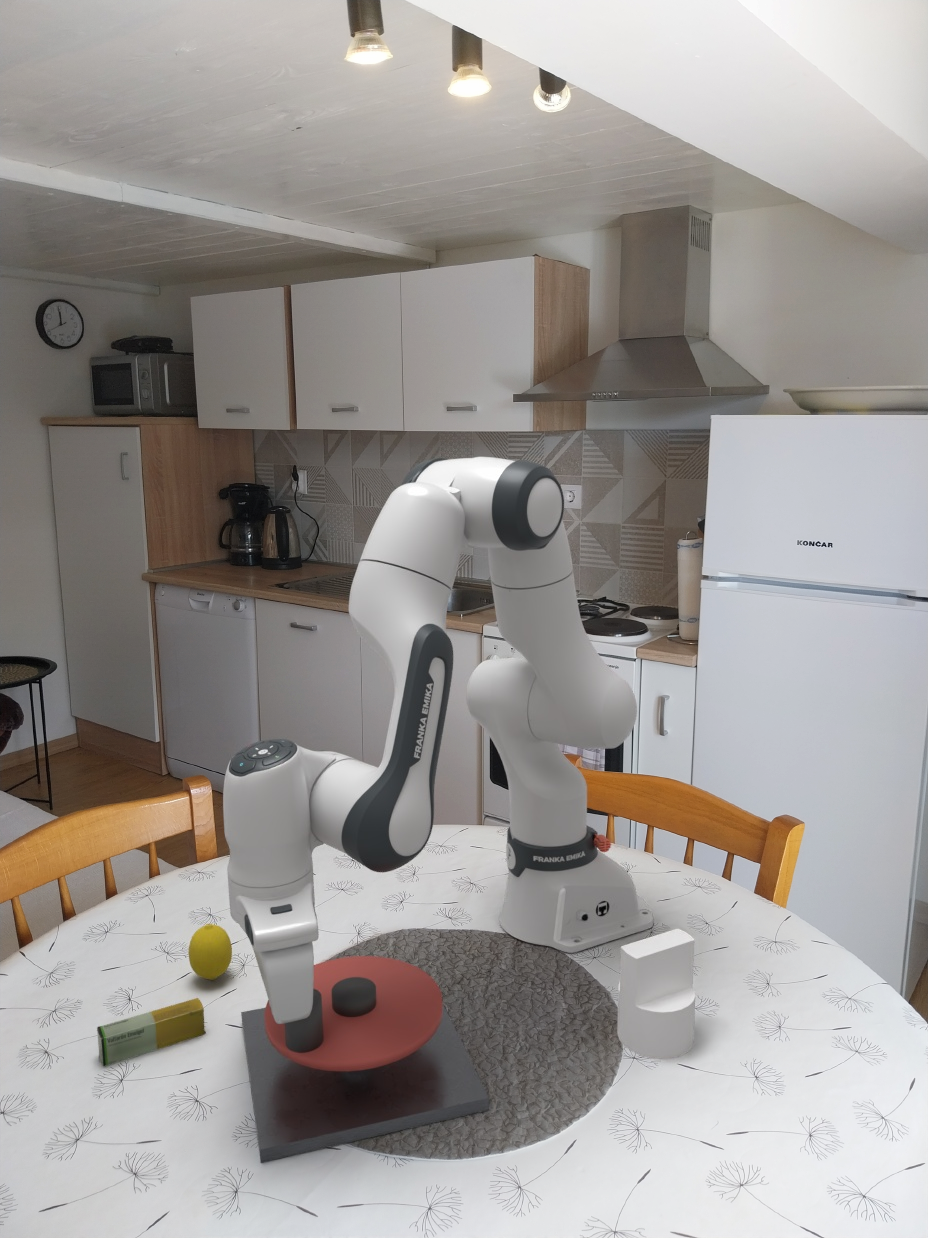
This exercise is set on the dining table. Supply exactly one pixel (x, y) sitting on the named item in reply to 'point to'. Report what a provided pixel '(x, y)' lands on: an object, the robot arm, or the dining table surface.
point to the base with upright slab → (657, 995)
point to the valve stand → (355, 1093)
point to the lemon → (210, 951)
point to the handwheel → (361, 1015)
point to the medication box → (150, 1031)
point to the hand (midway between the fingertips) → (279, 1011)
